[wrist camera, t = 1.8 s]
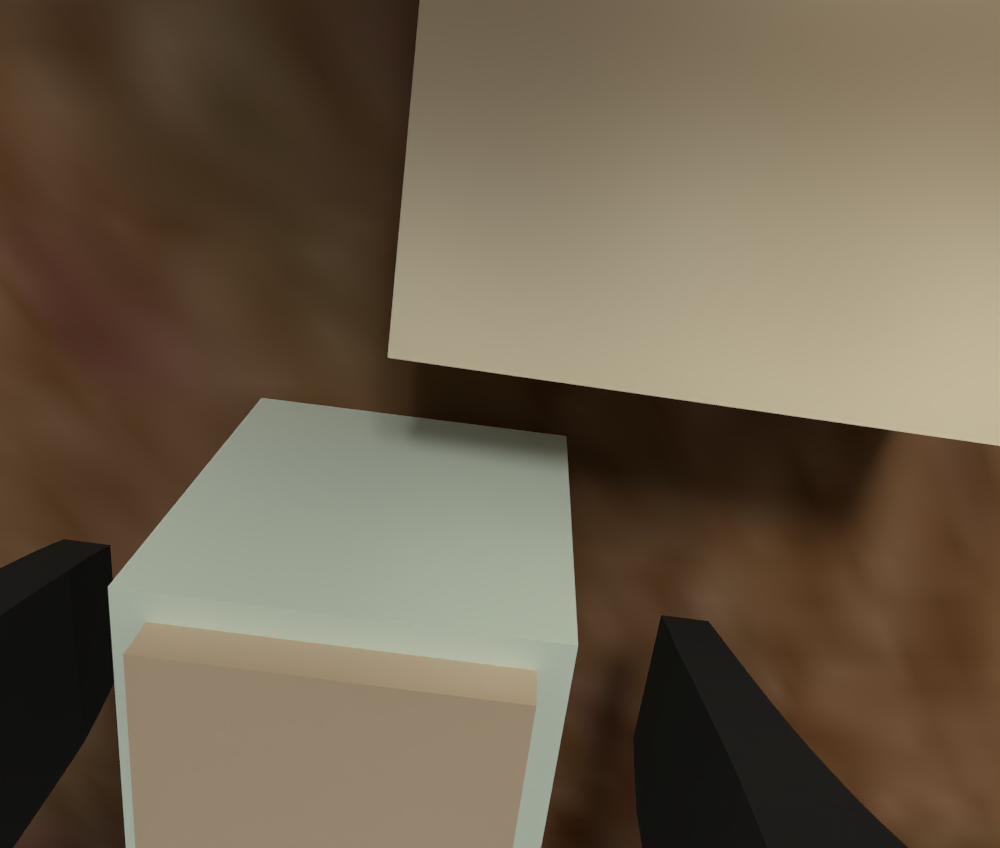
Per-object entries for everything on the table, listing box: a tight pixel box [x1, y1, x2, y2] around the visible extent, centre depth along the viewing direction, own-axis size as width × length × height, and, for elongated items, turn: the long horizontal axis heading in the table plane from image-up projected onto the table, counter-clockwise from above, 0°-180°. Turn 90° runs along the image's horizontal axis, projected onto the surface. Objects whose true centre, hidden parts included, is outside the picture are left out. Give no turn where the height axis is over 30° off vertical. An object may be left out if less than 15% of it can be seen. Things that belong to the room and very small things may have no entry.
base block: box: [388, 0, 1000, 446], centre depth 10 cm, size 7×7×3 cm
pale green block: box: [108, 398, 578, 848], centre depth 11 cm, size 4×4×6 cm
